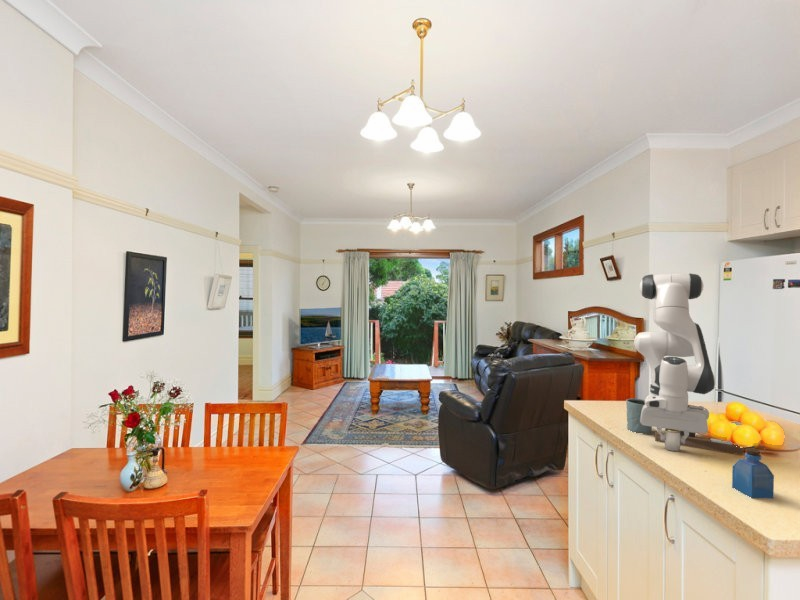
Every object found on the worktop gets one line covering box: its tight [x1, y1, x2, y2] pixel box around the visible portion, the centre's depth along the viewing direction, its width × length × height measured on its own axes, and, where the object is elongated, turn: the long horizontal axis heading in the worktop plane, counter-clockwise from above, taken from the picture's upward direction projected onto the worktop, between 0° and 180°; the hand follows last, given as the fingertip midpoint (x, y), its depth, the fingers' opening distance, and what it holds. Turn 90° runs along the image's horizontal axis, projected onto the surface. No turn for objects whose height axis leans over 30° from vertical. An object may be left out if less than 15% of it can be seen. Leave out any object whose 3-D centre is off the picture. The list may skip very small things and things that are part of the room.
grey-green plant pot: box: [625, 398, 653, 435], centre depth 168 cm, size 10×10×12 cm
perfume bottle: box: [731, 447, 775, 499], centre depth 115 cm, size 6×6×12 cm
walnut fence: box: [654, 431, 744, 456], centre depth 151 cm, size 2×26×4 cm, turn 60°
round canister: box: [664, 428, 681, 452], centre depth 148 cm, size 4×4×7 cm
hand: (672, 441), depth 148 cm, fingers closed on round canister, 4 cm apart
